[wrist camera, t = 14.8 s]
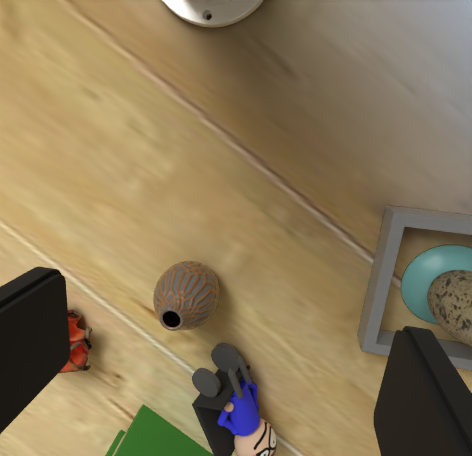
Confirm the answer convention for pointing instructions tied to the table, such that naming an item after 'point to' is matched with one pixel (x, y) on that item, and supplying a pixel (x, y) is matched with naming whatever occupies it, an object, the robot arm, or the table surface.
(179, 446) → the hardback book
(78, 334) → the dragon fruit
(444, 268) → the walled pen
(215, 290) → the vase
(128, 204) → the table surface
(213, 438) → the character figurine
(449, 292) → the decorative egg
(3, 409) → the robot arm
